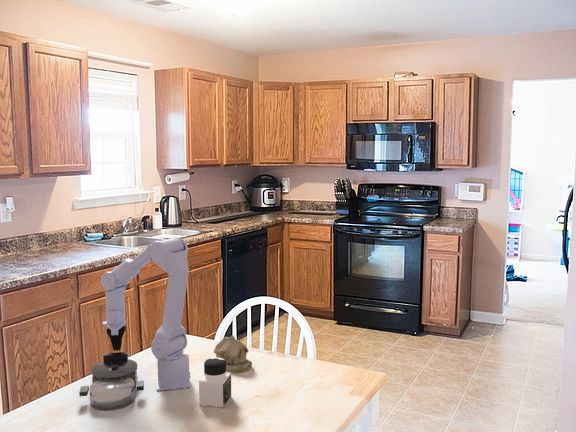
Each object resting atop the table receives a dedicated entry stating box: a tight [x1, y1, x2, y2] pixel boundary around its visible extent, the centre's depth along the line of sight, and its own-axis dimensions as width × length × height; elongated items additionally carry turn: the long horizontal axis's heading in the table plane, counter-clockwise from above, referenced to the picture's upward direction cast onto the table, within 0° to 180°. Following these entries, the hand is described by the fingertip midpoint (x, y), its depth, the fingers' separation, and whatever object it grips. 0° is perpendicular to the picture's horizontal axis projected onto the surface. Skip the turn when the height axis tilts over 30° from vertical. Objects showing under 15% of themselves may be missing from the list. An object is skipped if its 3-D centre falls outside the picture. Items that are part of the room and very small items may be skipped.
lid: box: [90, 351, 138, 379], centre depth 164 cm, size 13×13×3 cm
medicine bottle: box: [198, 356, 232, 408], centre depth 154 cm, size 7×7×12 cm
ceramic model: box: [213, 335, 253, 374], centre depth 180 cm, size 14×11×10 cm
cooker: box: [78, 360, 145, 412], centre depth 160 cm, size 17×22×4 cm
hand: (117, 349), depth 175 cm, fingers closed
